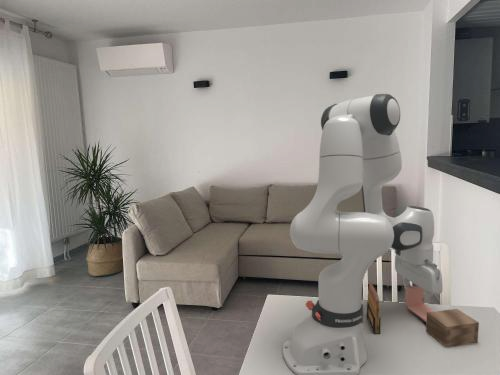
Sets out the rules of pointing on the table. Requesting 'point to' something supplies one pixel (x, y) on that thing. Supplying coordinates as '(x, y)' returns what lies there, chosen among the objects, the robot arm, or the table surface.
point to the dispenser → (452, 327)
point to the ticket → (416, 301)
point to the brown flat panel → (373, 310)
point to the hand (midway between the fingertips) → (416, 295)
